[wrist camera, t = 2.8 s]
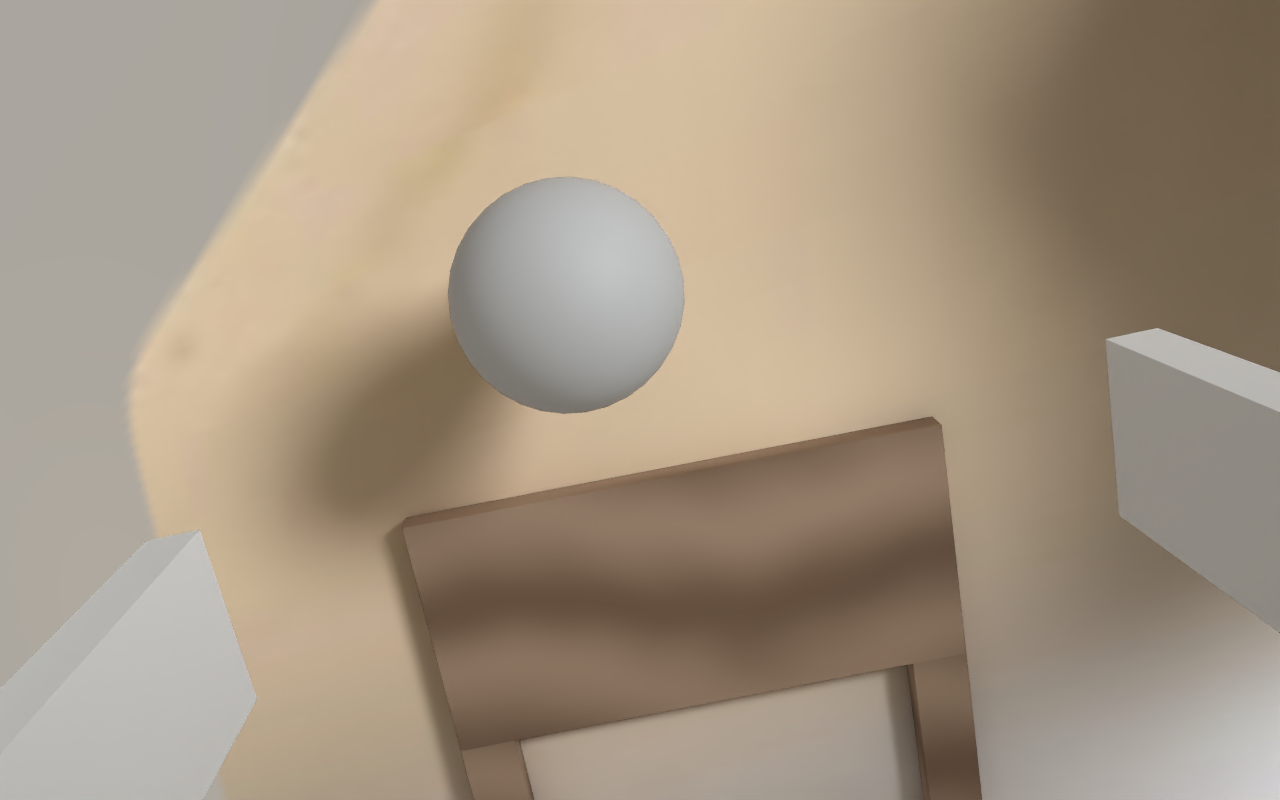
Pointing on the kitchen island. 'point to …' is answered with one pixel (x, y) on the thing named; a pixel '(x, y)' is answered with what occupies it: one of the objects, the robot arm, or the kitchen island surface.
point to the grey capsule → (566, 295)
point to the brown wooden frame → (702, 596)
